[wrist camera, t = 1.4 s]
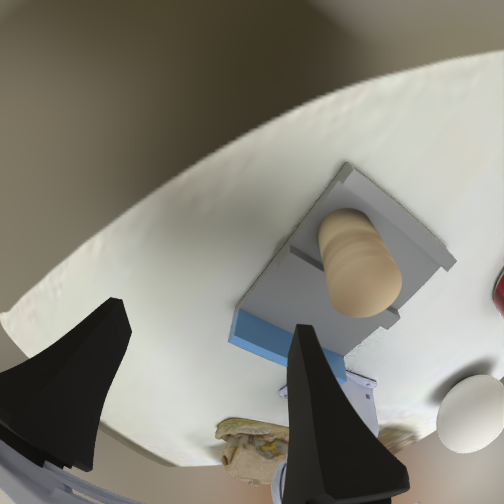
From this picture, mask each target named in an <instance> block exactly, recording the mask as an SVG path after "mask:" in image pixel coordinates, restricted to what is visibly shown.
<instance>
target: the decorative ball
mask: <svg viewBox="0 0 504 504" xmlns="http://www.w3.org/2000/svg"><path fill="white" fill-rule="evenodd" d="M436 425H437V432H438V436H439V438H440V440H441V442H442V443H443V444H444V445H445V446H446V447H447V448H448V449H450V450H452V451H454V452H458V453H470V452H474V451H477V450H479V449H481V448H483V447H485V446H487V445H488V444H489V443H491V442H492V441H493V440H494V439H495V438H496V437H497V436H498V435H499V434H500V433H501V431H502V430H503V428H504V386H503V384H502V383H501V382H500V381H499V380H497V379H496V378H494V377H492V376H489V375H475V376H471V377H468V378H466V379H464V380H462V381H460V382H459V383H458V384H456V385H455V386H454V387H453V388H452V389H451V390H450V391H449V392H448V394H447V395H446V396H445V398H444V399H443V401H442V403H441V405H440V408H439V411H438V415H437V422H436Z"/></svg>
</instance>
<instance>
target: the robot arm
mask: <svg viewBox="0 0 504 504" xmlns="http://www.w3.org/2000/svg"><path fill="white" fill-rule="evenodd" d="M131 333H132V330H131V327H130V324H129V321H128V317H127V314H126V311H125V307H124V304H123V300H122V299H117V298H112V297H110V298H109V299H108V300H106V301H105V302H104V303H103V304H101V305H100V306H99V307H98V308H97V309H95V310H94V311H93V312H92V313H91V314H90V315H88V316H87V317H86V318H85V319H84V320H83V321H81V322H80V323H79V324H78V325H77V326H75V327H74V328H73V329H72V330H70V331H69V332H68V333H67V334H65V335H64V336H63V337H62V338H60V339H59V340H58V341H56V342H55V343H54V344H52V345H51V346H49V347H48V348H46V349H45V350H43V351H42V352H40V353H39V354H37V355H35V356H34V357H32V358H30V359H28V360H27V361H25V362H23V363H21V364H19V365H17V366H15V367H13V368H11V369H9V370H6V371H4V372H1V373H0V489H1V490H2V491H3V492H4V493H5V494H6V495H7V496H8V497H9V498H10V499H11V500H12V501H13V502H14V503H15V504H97V503H95V502H93V501H90V500H88V499H86V498H83V497H81V496H79V495H76V494H74V493H73V492H72V489H74V490H76V491H78V492H80V493H82V494H84V495H87V496H89V497H91V498H93V499H95V500H98V501H100V502H102V503H105V504H145V503H141V502H138V501H135V500H132V499H129V498H126V497H123V496H120V495H118V494H115V493H112V492H110V491H108V490H105V489H102V488H100V487H98V486H96V485H93V484H91V483H89V482H87V481H84V480H82V479H80V478H78V477H76V476H74V475H72V474H70V473H68V472H66V471H64V470H63V467H64V466H66V467H68V468H70V469H71V468H72V466H74V467H76V468H78V469H81V470H83V471H85V472H89V471H91V470H92V469H93V457H94V447H95V441H96V434H97V430H98V425H99V421H100V416H101V412H102V409H103V405H104V402H105V398H106V396H107V393H108V390H109V388H110V386H111V384H112V381H113V379H114V377H115V375H116V372H117V370H118V368H119V366H120V364H121V361H122V359H123V357H124V355H125V352H126V349H127V346H128V343H129V340H130V337H131ZM346 377H347V382H345V383H344V384H342V385H341V386H340V384H339V383H338V381H337V379H336V377H335V375H334V373H333V371H332V369H331V367H330V365H329V363H328V361H327V359H326V357H325V354H324V352H323V350H322V347H321V345H320V343H319V340H318V338H317V335H316V332H315V329H314V327H313V326H312V325H306V324H296V327H295V331H294V335H293V338H292V342H291V345H290V349H289V352H288V360H287V386H286V387H285V388H283V389H282V390H280V391H279V392H278V395H279V396H281V397H284V398H287V399H288V412H289V442H288V454H286V461H284V462H282V463H280V464H279V466H278V467H277V468H276V470H275V472H274V474H273V477H272V484H271V493H272V499H273V502H274V504H391V497H393V496H396V495H399V494H401V493H404V492H406V491H408V490H409V489H410V483H409V476H408V472H407V468H406V466H405V465H403V464H402V463H401V462H400V461H399V460H398V459H397V458H396V457H395V456H394V455H393V454H392V453H391V452H390V451H389V450H388V449H387V448H386V447H385V446H384V445H383V444H382V443H381V442H380V441H379V440H378V439H377V437H378V421H377V414H376V408H375V403H374V397H373V392H372V389H373V388H375V387H376V386H377V382H375V381H372V380H369V379H366V378H363V377H361V376H358V375H355V374H353V373H350V372H347V371H346ZM71 488H72V489H71ZM415 504H421V503H420V502H419V503H415Z"/></svg>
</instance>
